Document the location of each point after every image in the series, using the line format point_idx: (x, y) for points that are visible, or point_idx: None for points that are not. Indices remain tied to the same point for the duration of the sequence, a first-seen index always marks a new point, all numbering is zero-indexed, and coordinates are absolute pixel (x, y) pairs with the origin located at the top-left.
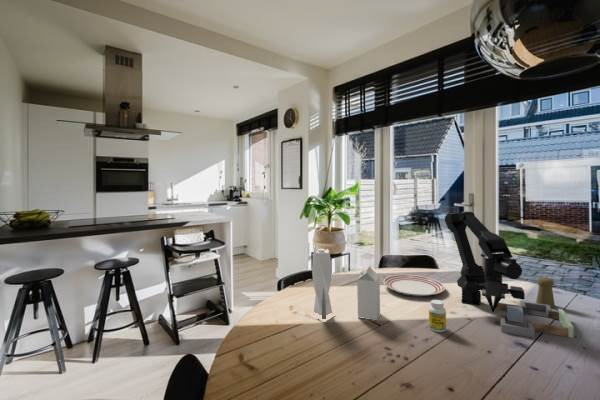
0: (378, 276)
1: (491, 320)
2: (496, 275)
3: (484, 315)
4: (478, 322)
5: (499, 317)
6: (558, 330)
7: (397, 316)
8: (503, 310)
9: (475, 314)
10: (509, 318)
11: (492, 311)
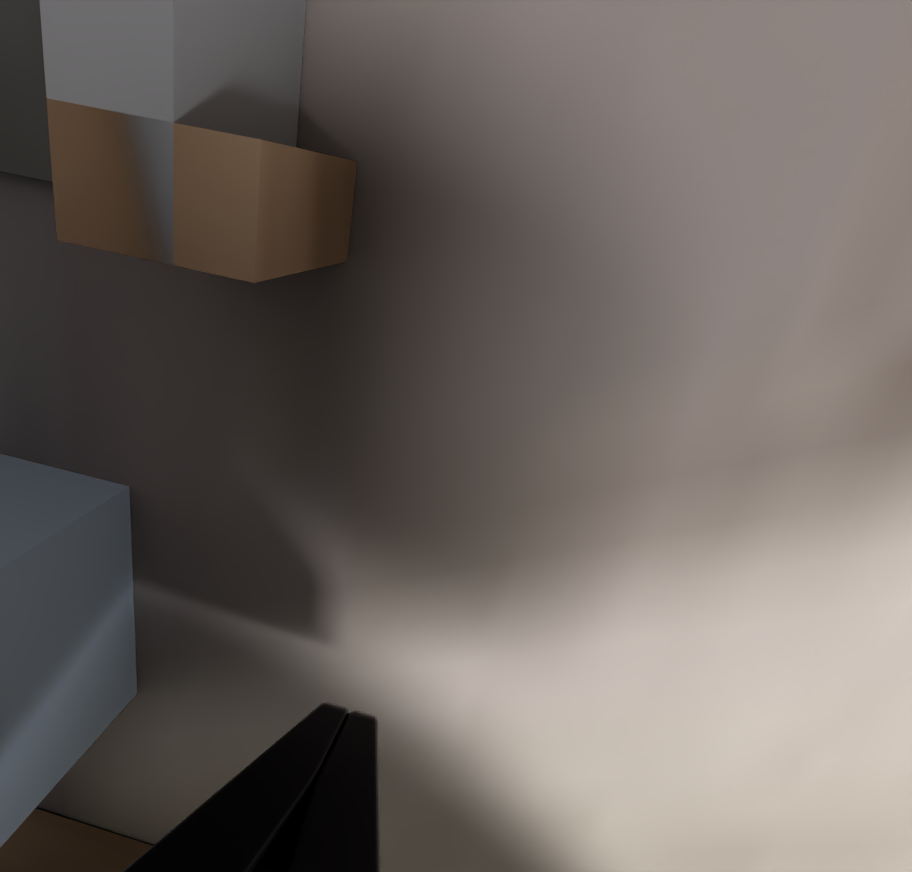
0: None
1: (466, 387)
2: None
3: (558, 635)
4: (906, 122)
5: (206, 146)
6: None
7: None
8: None
9: (763, 659)
10: (66, 497)
11: (359, 721)
